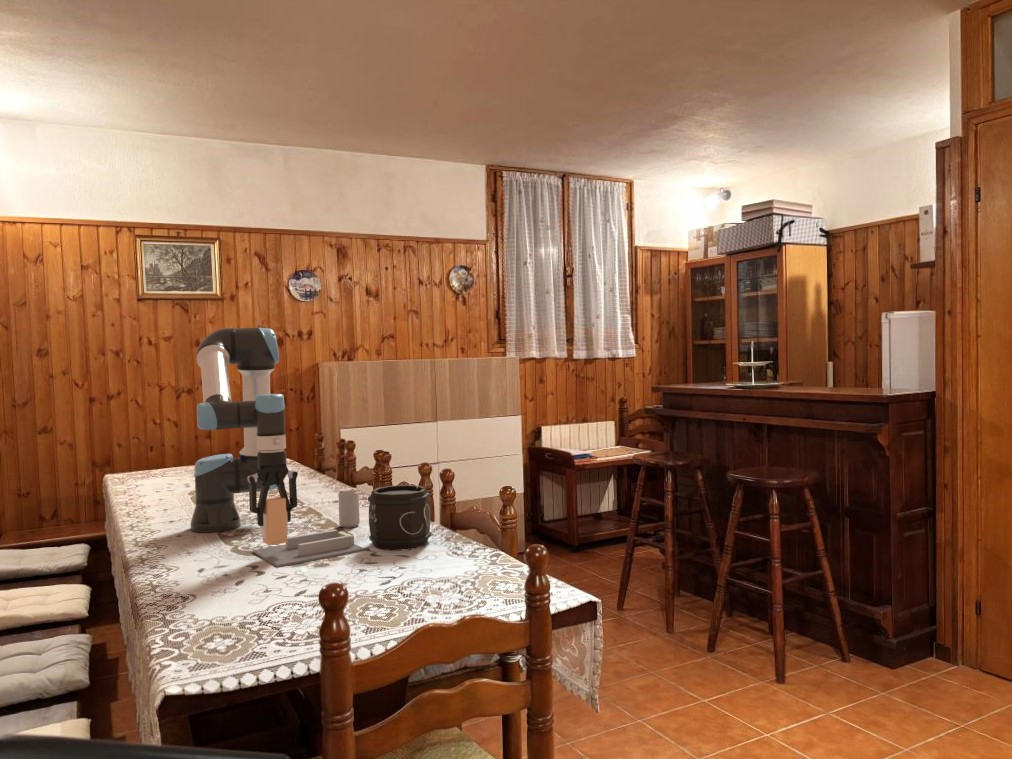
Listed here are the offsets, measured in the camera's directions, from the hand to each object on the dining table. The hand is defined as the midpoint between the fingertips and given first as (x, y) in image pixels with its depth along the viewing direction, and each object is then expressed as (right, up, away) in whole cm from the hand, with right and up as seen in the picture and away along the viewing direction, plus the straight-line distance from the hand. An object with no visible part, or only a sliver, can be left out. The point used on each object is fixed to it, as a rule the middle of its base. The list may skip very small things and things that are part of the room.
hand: (274, 535), depth 206 cm
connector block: (0, -2, 0) cm, 2 cm away
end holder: (+8, -6, +6) cm, 11 cm away
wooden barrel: (+33, -5, +13) cm, 36 cm away
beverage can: (+13, -5, +37) cm, 40 cm away
